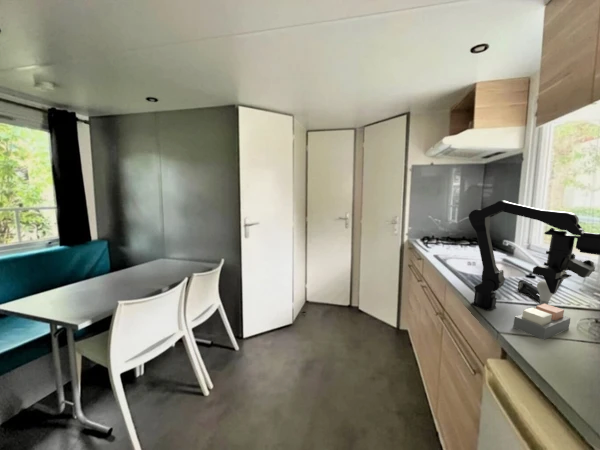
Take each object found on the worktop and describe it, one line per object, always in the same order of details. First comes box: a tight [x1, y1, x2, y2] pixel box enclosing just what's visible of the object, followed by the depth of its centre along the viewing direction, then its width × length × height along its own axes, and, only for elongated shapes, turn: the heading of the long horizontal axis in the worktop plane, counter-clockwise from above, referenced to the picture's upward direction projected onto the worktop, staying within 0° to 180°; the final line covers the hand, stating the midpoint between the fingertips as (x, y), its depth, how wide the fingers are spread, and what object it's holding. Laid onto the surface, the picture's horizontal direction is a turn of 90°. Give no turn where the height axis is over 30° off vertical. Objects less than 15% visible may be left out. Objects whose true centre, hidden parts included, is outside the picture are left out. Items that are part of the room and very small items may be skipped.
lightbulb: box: [536, 279, 554, 305], centre depth 114 cm, size 6×6×11 cm
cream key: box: [522, 307, 552, 326], centre depth 94 cm, size 6×6×4 cm
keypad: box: [512, 313, 571, 341], centre depth 96 cm, size 9×17×4 cm, turn 117°
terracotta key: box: [535, 303, 565, 321], centre depth 98 cm, size 6×6×4 cm
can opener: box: [517, 279, 540, 303], centre depth 125 cm, size 18×7×6 cm, turn 170°
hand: (552, 293), depth 97 cm, fingers closed
